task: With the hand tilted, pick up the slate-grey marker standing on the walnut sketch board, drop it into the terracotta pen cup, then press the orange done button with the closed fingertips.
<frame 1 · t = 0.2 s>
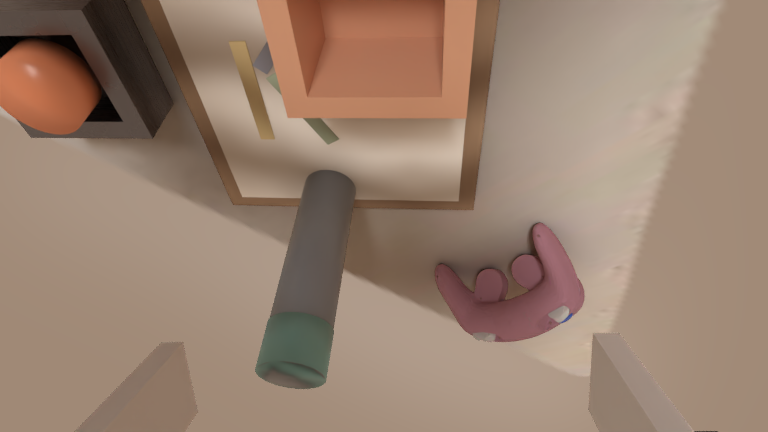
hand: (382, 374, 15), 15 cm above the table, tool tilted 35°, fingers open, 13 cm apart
button housing: (83, 48, 25), on the table
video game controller: (504, 257, 36), on the table
done button: (47, 88, 23), point 3 cm above the table, slide at 0.0 cm
marker: (330, 188, 30), point 1 cm above the table, touching sketch board
sketch board: (330, 63, 24), on the table
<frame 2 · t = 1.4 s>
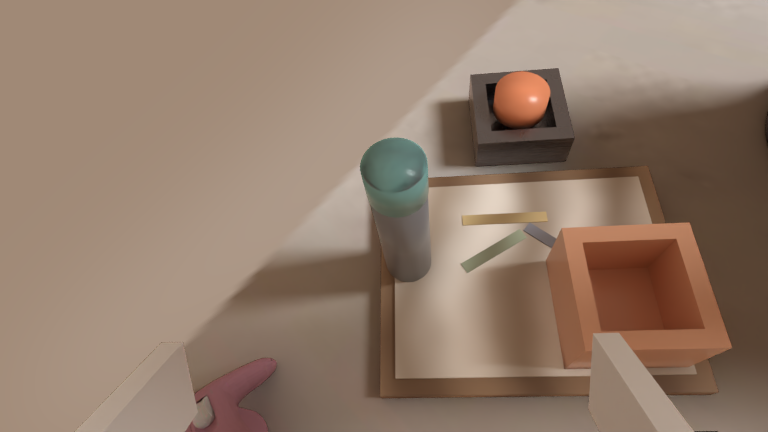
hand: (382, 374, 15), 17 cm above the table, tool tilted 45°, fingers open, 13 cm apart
button housing: (514, 129, 40), on the table
done button: (520, 100, 37), point 4 cm above the table, slide at 0.0 cm
pen cup: (612, 310, 31), resting on sketch board
marker: (408, 260, 34), point 1 cm above the table, touching sketch board
sketch board: (523, 276, 34), on the table
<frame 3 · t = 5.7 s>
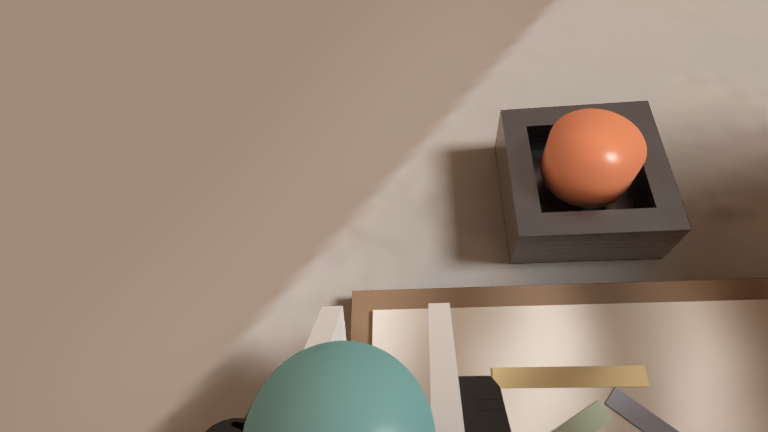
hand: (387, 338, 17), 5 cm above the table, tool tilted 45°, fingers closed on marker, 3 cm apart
button housing: (571, 197, 24), on the table
done button: (590, 158, 21), point 3 cm above the table, slide at 0.0 cm
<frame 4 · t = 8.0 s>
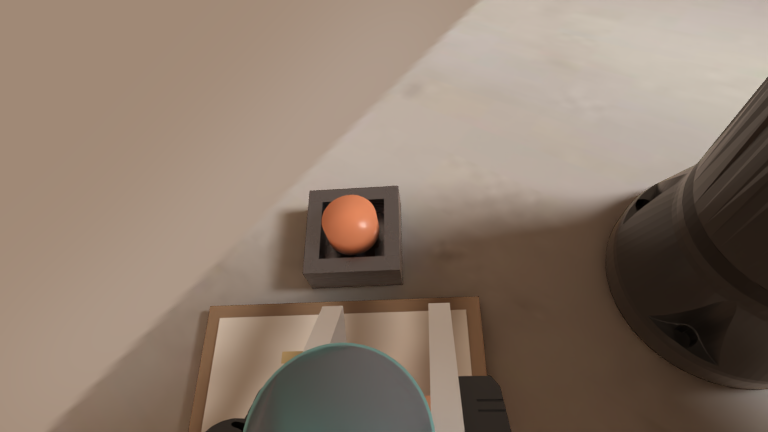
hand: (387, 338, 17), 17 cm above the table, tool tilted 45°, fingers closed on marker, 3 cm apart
button housing: (358, 245, 38), on the table
done button: (351, 224, 35), point 3 cm above the table, slide at 0.0 cm
sketch board: (339, 420, 32), on the table
when the fingers open (8 cm above the table, at t = 10.4 s): marker drops 2 cm, resting on pen cup.
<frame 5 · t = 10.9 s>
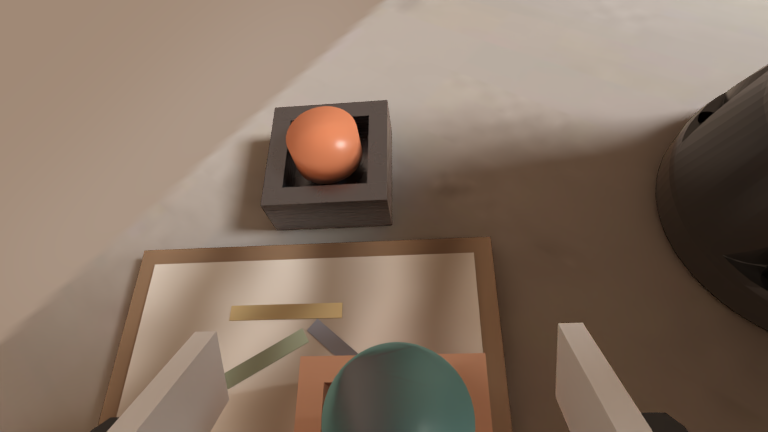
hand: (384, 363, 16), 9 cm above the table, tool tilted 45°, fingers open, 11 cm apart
button housing: (336, 178, 30), on the table
done button: (325, 145, 27), point 4 cm above the table, slide at 0.0 cm
sketch board: (303, 395, 24), on the table
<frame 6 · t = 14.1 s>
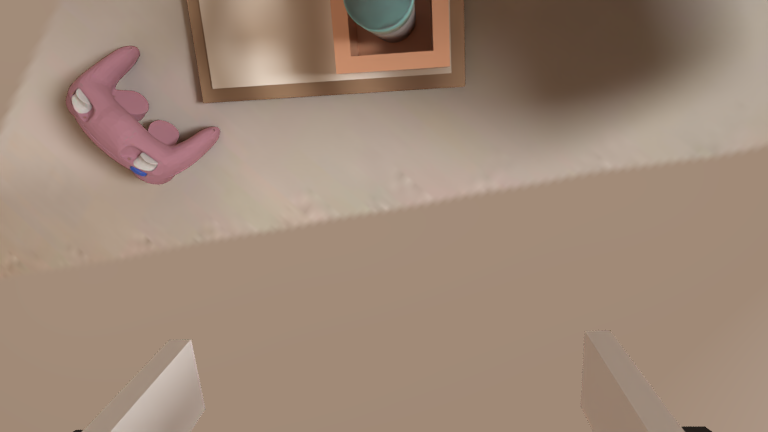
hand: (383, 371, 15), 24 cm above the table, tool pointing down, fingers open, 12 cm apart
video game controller: (161, 114, 39), on the table
pen cup: (393, 18, 34), resting on sketch board
marker: (393, 18, 33), point 2 cm above the table, touching pen cup
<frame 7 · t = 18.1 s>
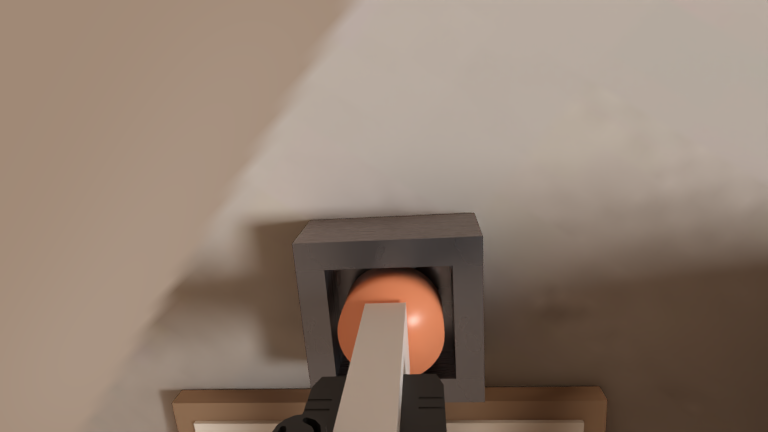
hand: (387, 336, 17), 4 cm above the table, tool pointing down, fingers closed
button housing: (396, 291, 21), on the table
done button: (392, 321, 19), point 3 cm above the table, slide at 0.8 cm, touching gripper
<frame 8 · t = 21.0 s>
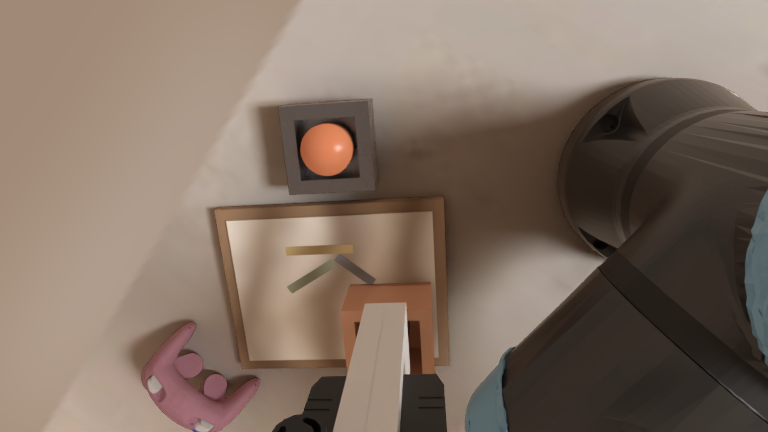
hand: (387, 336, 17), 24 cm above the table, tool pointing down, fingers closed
button housing: (334, 144, 40), on the table
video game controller: (212, 364, 48), on the table
done button: (328, 148, 38), point 3 cm above the table, slide at 0.9 cm
pen cup: (392, 319, 43), resting on sketch board
sketch board: (337, 285, 44), on the table
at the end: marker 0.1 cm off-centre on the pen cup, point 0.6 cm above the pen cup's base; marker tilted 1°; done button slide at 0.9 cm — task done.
